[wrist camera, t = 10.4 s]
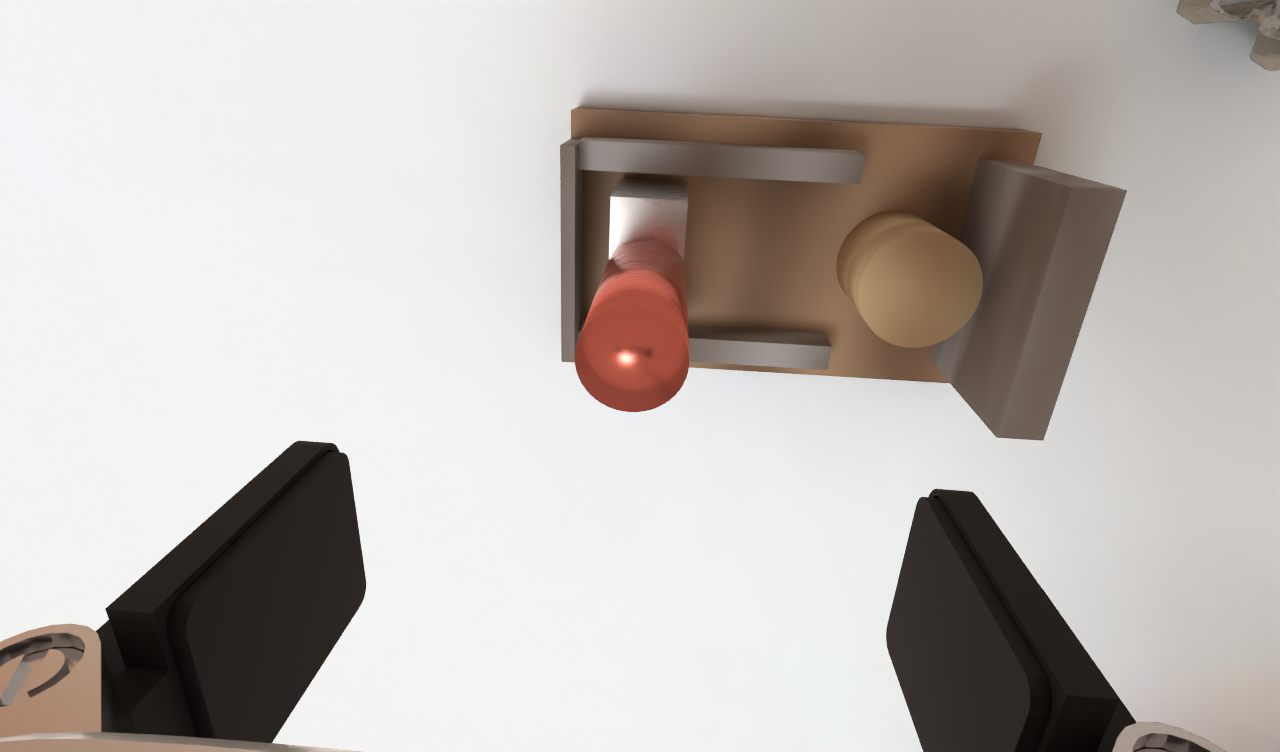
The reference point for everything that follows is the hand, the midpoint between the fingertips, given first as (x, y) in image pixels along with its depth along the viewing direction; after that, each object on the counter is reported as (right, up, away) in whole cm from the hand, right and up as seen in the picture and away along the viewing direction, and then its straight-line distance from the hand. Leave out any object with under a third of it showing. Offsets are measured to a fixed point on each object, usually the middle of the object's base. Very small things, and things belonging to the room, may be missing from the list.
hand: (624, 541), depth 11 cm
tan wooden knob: (+10, +7, +15) cm, 20 cm away
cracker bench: (+6, +8, +17) cm, 20 cm away
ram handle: (+1, +8, +15) cm, 17 cm away
